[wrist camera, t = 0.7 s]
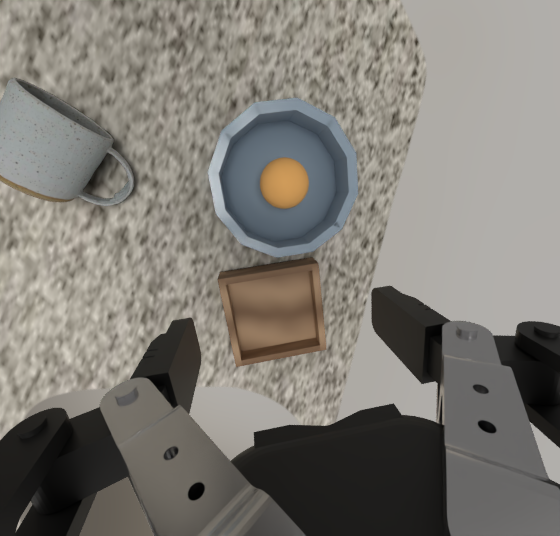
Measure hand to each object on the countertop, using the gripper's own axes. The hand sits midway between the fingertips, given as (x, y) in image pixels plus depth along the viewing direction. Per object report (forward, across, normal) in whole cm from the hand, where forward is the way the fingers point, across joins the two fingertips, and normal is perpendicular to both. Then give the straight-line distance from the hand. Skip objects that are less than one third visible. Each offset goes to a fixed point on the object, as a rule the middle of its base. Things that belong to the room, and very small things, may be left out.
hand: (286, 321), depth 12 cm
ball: (+19, -3, -6) cm, 20 cm away
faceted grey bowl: (+23, -3, -5) cm, 24 cm away
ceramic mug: (+23, +17, -10) cm, 31 cm away
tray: (+22, -1, +10) cm, 24 cm away
